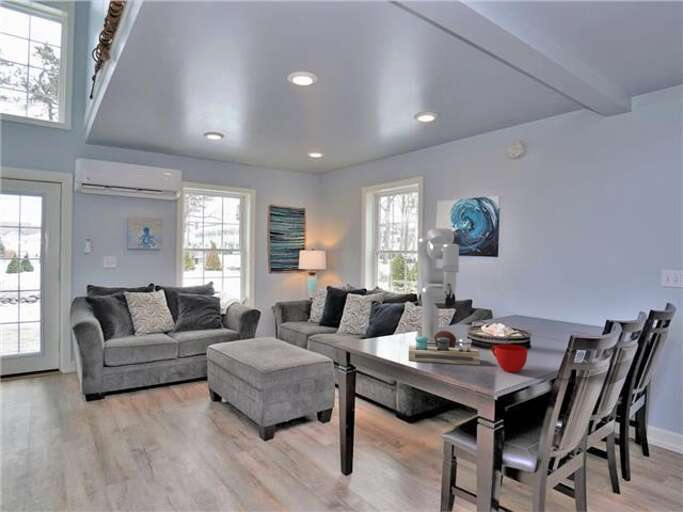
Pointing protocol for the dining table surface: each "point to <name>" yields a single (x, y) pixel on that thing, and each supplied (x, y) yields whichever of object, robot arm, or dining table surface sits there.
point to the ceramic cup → (510, 357)
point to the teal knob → (421, 343)
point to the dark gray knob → (443, 344)
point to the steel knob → (464, 345)
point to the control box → (444, 356)
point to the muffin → (446, 335)
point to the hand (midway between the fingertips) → (450, 305)
